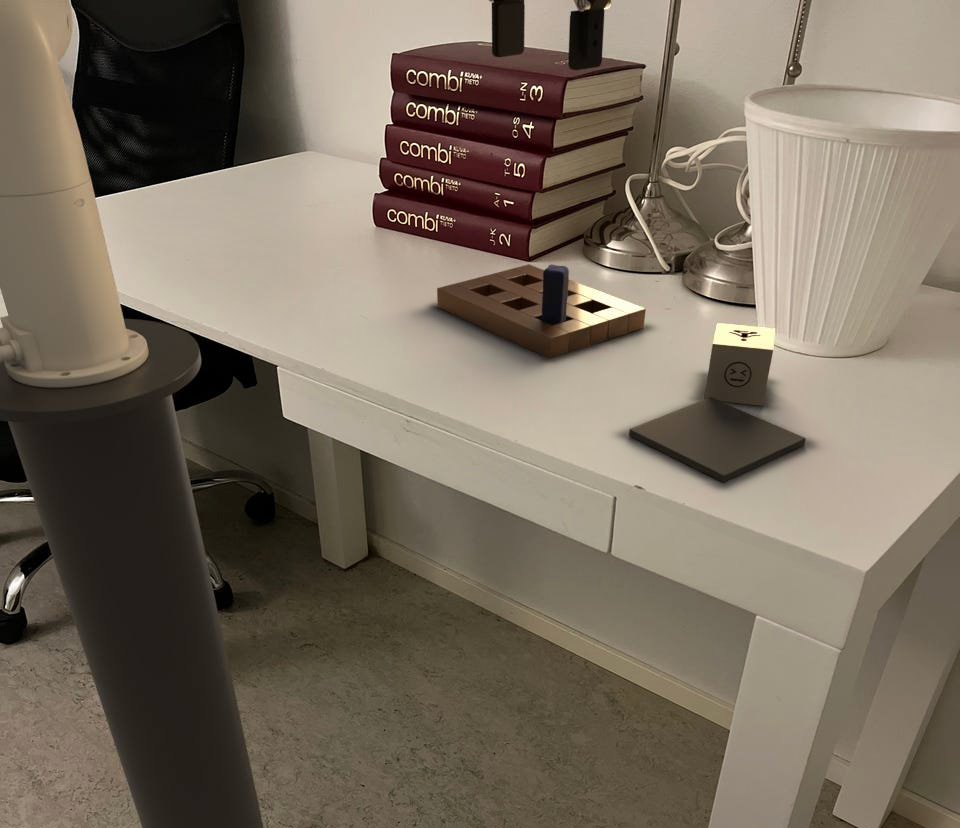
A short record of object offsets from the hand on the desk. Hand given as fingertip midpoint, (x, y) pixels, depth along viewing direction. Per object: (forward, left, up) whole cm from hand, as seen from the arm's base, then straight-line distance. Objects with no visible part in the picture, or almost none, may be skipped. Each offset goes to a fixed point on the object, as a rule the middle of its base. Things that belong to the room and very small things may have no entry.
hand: (545, 61), depth 81 cm
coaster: (-3, -26, -24) cm, 36 cm away
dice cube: (+5, -21, -24) cm, 32 cm away
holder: (+4, +4, -24) cm, 24 cm away
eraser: (+1, -1, -24) cm, 24 cm away
